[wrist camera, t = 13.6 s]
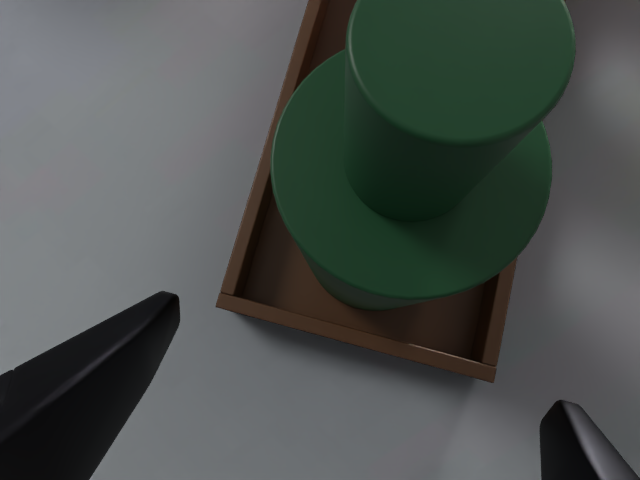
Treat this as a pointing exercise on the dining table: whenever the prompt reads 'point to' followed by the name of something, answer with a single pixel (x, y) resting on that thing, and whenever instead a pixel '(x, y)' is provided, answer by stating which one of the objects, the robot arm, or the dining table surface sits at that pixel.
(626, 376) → the dining table surface
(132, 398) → the robot arm
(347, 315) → the tray
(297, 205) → the green bottle
